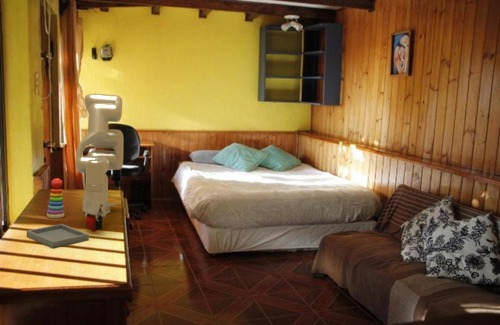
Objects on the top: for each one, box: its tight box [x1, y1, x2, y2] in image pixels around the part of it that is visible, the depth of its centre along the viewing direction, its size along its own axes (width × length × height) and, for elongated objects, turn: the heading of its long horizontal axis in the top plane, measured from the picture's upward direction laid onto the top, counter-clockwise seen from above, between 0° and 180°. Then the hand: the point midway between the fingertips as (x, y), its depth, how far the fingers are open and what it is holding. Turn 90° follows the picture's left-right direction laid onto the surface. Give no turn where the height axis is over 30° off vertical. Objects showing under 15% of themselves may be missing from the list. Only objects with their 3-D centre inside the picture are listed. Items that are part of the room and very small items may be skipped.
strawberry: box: [84, 214, 104, 233], centre depth 209 cm, size 6×8×10 cm
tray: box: [26, 223, 90, 249], centre depth 198 cm, size 16×20×2 cm
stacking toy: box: [46, 177, 65, 219], centre depth 228 cm, size 8×8×19 cm
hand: (93, 227), depth 210 cm, fingers closed on strawberry, 6 cm apart
